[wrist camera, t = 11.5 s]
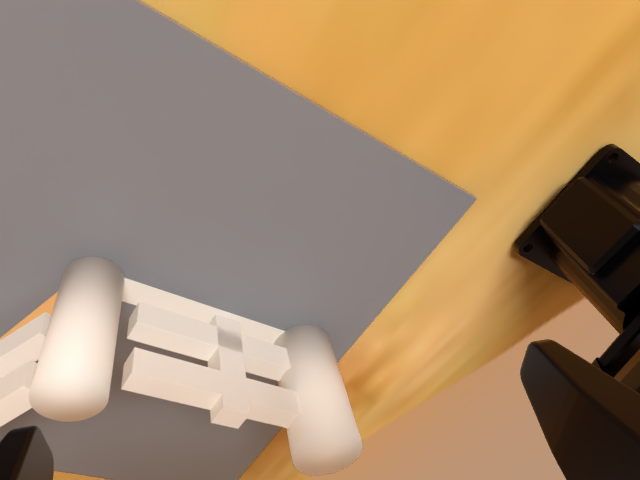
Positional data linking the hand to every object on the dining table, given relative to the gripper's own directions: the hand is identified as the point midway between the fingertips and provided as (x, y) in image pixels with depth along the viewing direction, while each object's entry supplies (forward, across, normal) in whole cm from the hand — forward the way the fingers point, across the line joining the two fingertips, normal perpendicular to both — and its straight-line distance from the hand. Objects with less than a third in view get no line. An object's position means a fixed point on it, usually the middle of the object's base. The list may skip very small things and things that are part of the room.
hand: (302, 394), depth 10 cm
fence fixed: (+13, +2, +9) cm, 16 cm away
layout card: (+13, +7, +7) cm, 17 cm away
